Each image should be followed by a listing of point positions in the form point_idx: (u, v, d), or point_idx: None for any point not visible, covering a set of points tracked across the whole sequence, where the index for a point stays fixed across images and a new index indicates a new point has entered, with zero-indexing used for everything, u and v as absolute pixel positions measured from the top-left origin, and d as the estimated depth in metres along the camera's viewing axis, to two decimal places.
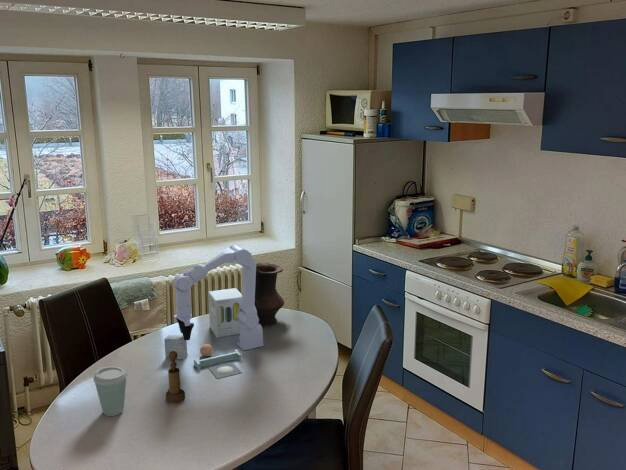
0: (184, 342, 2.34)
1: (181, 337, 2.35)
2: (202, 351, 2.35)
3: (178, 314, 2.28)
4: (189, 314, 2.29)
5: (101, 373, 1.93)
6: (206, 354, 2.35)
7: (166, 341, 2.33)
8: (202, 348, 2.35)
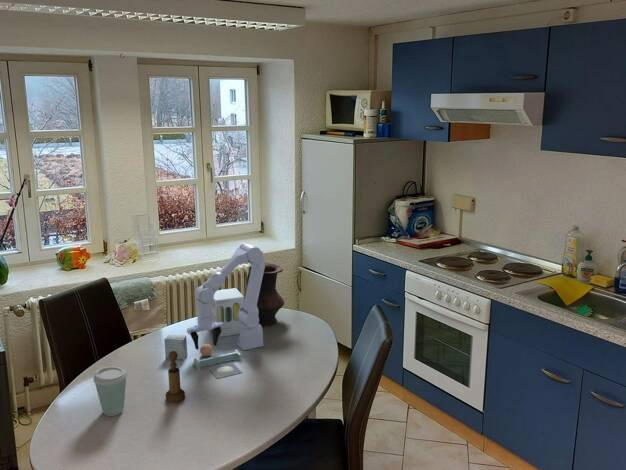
0: (184, 342, 2.34)
1: (181, 337, 2.35)
2: (202, 351, 2.35)
3: None
4: (201, 326, 2.32)
5: (101, 373, 1.93)
6: (206, 354, 2.35)
7: (166, 341, 2.33)
8: (202, 348, 2.35)
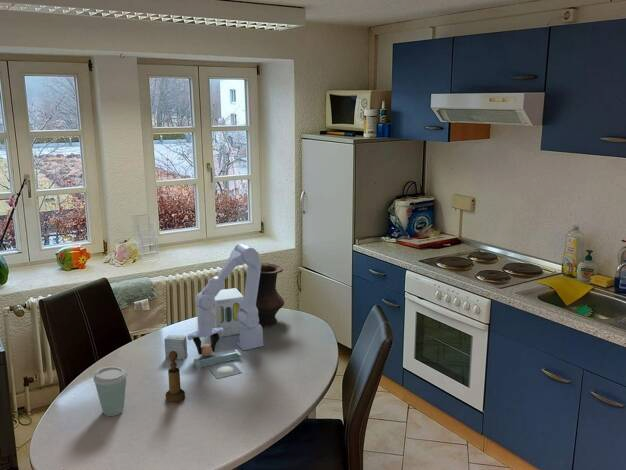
0: (184, 342, 2.34)
1: (181, 337, 2.35)
2: (202, 351, 2.35)
3: None
4: (201, 332, 2.33)
5: (101, 373, 1.93)
6: (206, 354, 2.35)
7: (166, 341, 2.33)
8: (202, 348, 2.35)
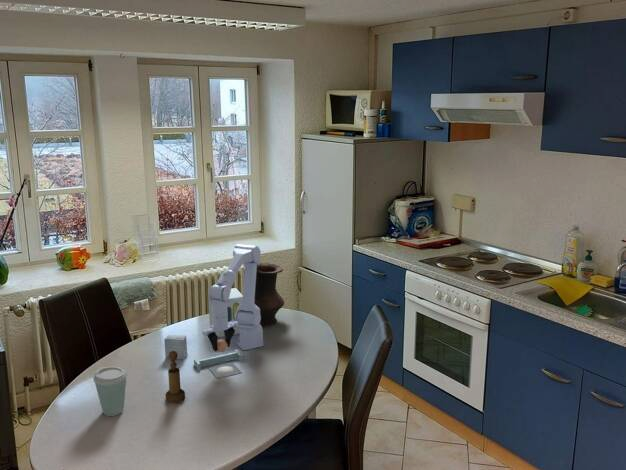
0: (184, 342, 2.34)
1: (181, 337, 2.35)
2: (218, 347, 2.23)
3: None
4: (217, 327, 2.20)
5: (101, 373, 1.93)
6: (222, 350, 2.23)
7: (166, 341, 2.33)
8: (218, 344, 2.23)
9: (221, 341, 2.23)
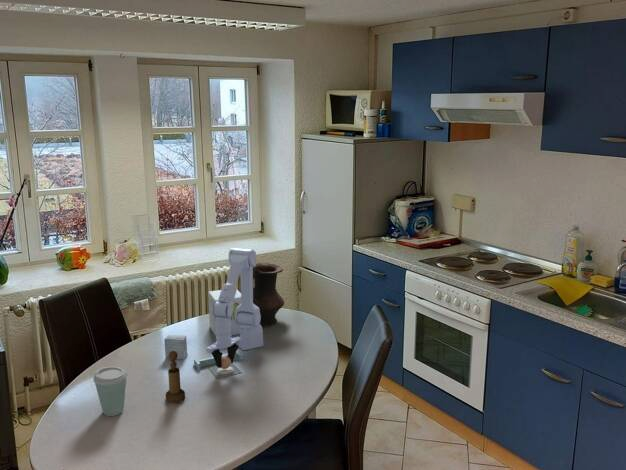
0: (184, 342, 2.34)
1: (181, 337, 2.35)
2: (222, 363, 2.22)
3: None
4: (222, 344, 2.20)
5: (101, 373, 1.93)
6: (226, 366, 2.23)
7: (166, 341, 2.33)
8: (222, 360, 2.22)
9: (225, 358, 2.23)
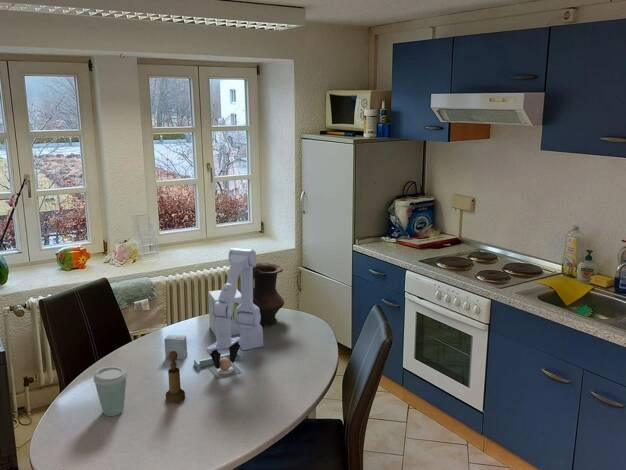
0: (184, 342, 2.34)
1: (181, 337, 2.35)
2: (222, 365, 2.22)
3: None
4: (222, 344, 2.20)
5: (101, 373, 1.93)
6: (226, 368, 2.23)
7: (166, 341, 2.33)
8: (222, 362, 2.23)
9: (225, 359, 2.23)
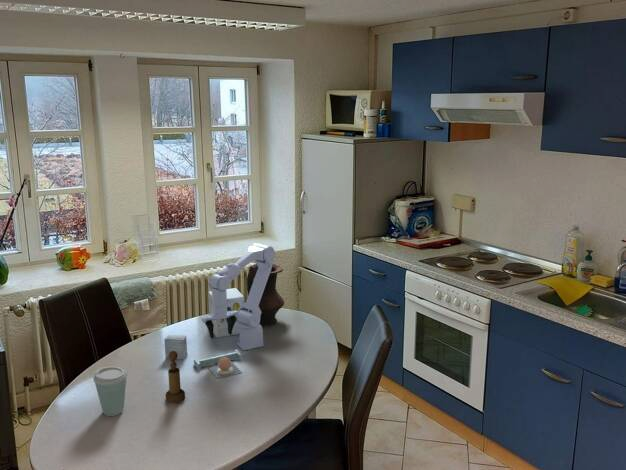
0: (184, 342, 2.34)
1: (181, 337, 2.35)
2: (222, 365, 2.22)
3: None
4: (216, 315, 2.30)
5: (101, 373, 1.93)
6: (226, 368, 2.23)
7: (166, 341, 2.33)
8: (222, 362, 2.23)
9: (225, 359, 2.23)
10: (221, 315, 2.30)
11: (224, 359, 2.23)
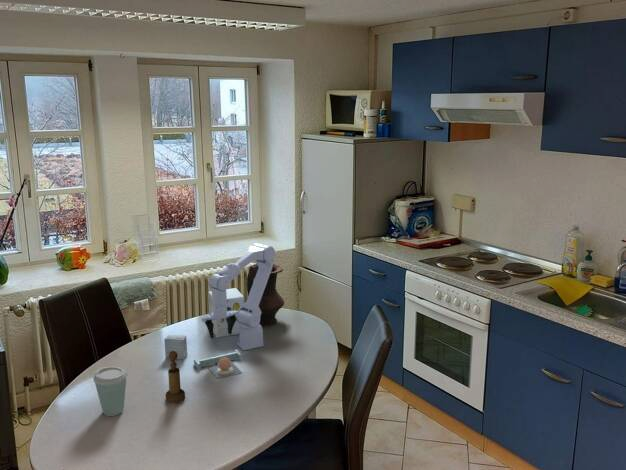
0: (184, 342, 2.34)
1: (181, 337, 2.35)
2: (222, 365, 2.22)
3: None
4: (216, 315, 2.30)
5: (101, 373, 1.93)
6: (226, 368, 2.23)
7: (166, 341, 2.33)
8: (222, 362, 2.23)
9: (225, 359, 2.23)
10: (221, 315, 2.30)
11: (224, 359, 2.23)
